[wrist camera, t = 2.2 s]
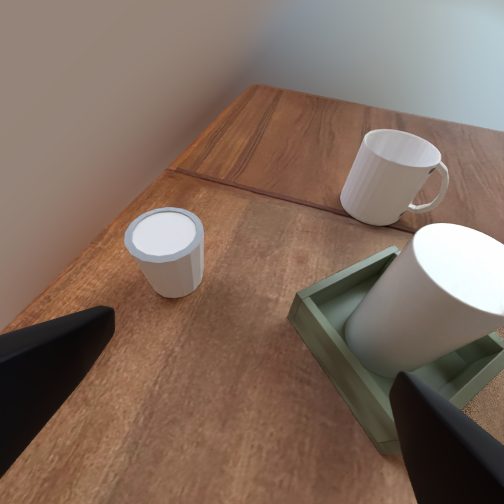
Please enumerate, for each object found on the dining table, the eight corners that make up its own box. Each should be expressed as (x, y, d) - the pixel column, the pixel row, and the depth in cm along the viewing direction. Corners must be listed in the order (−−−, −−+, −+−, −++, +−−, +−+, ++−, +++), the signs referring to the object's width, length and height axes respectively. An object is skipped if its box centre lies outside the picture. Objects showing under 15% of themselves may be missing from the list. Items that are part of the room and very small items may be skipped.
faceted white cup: (218, 261, 30) (215, 217, 24) (190, 312, 25) (180, 272, 20) (166, 245, 31) (152, 199, 25) (131, 291, 26) (105, 247, 21)
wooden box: (474, 370, 24) (519, 353, 20) (380, 455, 19) (417, 453, 15) (373, 271, 30) (393, 244, 27) (286, 316, 26) (296, 292, 22)
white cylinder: (433, 354, 23) (564, 284, 14) (382, 394, 21) (501, 341, 12) (378, 296, 27) (454, 211, 18) (329, 324, 25) (388, 242, 15)
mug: (328, 206, 37) (352, 146, 30) (353, 180, 42) (379, 122, 35) (410, 247, 33) (460, 188, 26) (427, 213, 38) (474, 155, 31)
